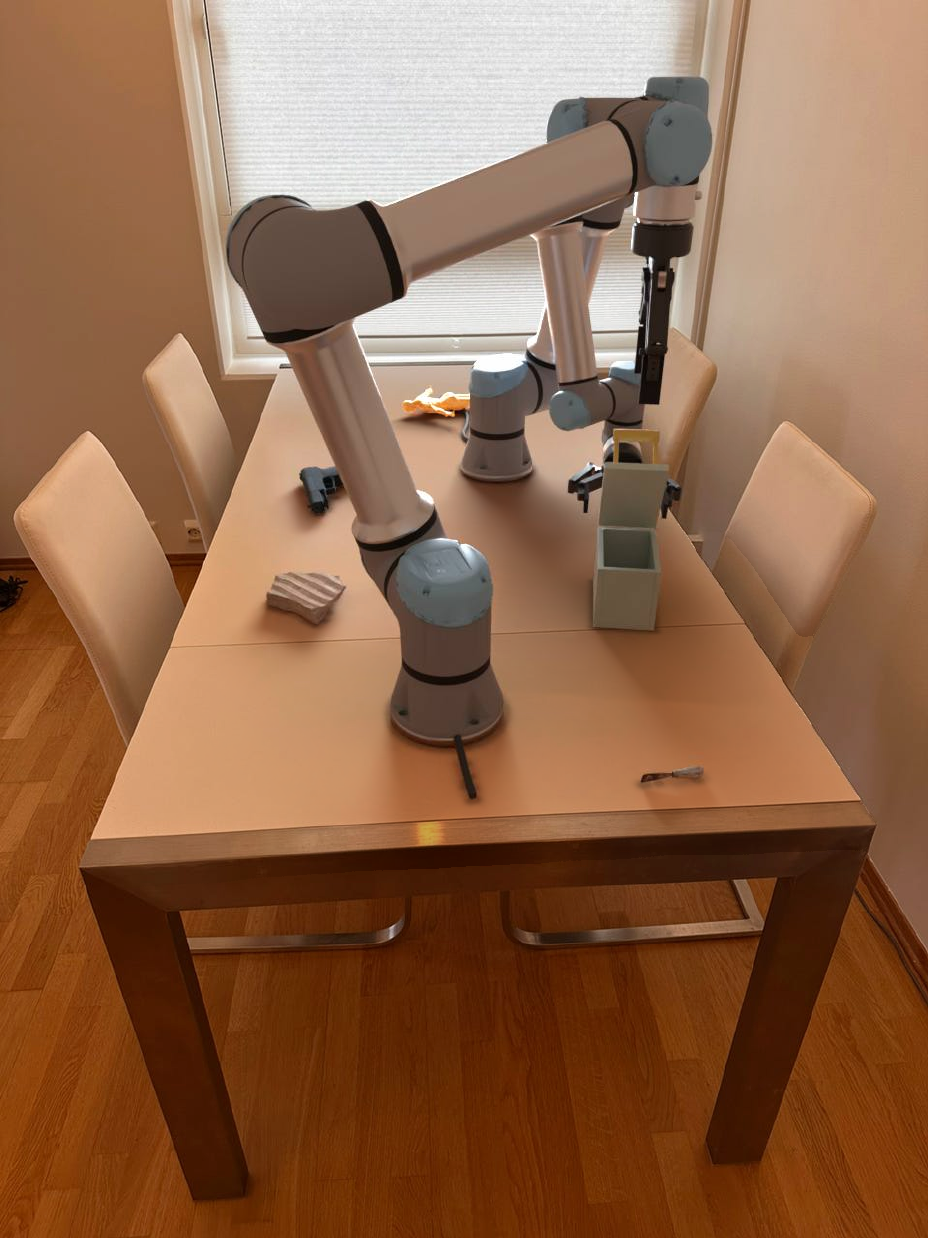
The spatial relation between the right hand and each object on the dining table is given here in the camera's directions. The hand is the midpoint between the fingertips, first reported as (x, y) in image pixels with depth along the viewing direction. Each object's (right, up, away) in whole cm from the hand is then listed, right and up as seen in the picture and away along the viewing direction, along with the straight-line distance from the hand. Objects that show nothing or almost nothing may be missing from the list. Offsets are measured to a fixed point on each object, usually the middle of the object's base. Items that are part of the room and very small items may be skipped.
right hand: (625, 509), depth 155 cm
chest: (-2, -17, -10) cm, 20 cm away
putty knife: (-3, -39, -45) cm, 60 cm away
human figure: (-31, +34, +71) cm, 85 cm away
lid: (-2, -1, -17) cm, 17 cm away
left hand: (-3, +13, -32) cm, 34 cm away
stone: (-54, -17, -9) cm, 57 cm away
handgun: (-55, +6, +27) cm, 62 cm away
